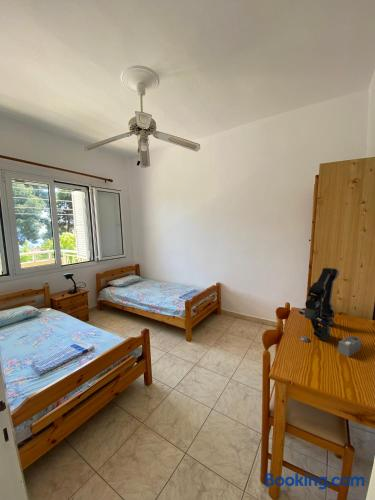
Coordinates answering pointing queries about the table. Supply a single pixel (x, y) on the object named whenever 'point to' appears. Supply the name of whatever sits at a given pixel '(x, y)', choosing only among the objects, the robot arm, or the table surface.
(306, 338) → the lens cap
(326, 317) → the robot arm
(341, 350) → the camera body
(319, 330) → the end cap
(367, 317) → the table surface
